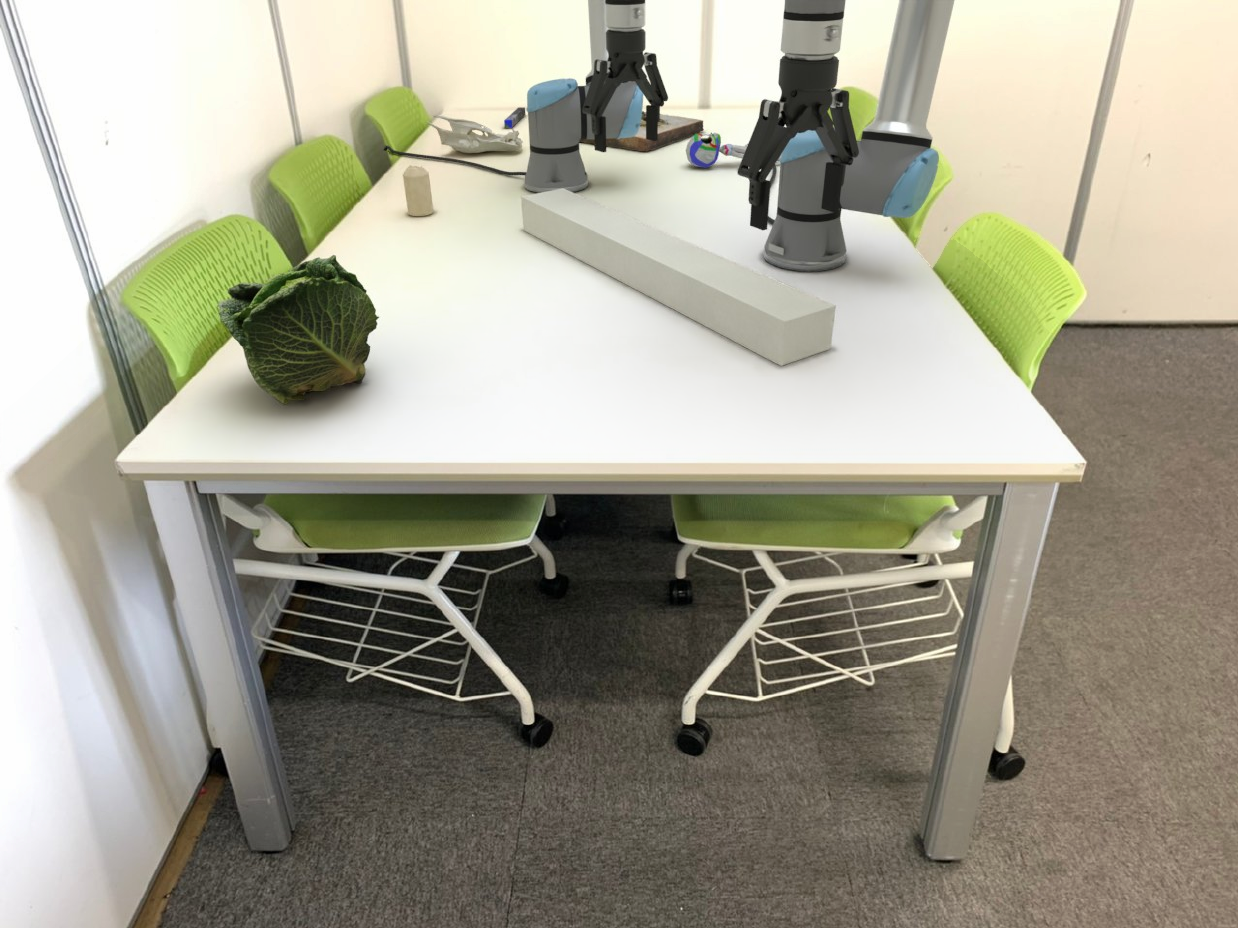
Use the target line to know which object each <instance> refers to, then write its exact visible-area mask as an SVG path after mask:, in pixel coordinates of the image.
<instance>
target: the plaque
mask: <svg viewBox="0 0 1238 928" xmlns="http://www.w3.org/2000/svg"><path fill="white" fill-rule="evenodd" d="M704 130H705V129H704V120H702V119H698V118H693V117H685V116H679V115H669V114H663V113H660V120H659V122H658V141H652V140H648V139H646V111H644V110H642V117H641V123H640V128H639V131H638V133H637V134H636V135H635V136H634V137H628V138H620V139H617V138H611V139H606V147H612V148H620V149H625V150H632V151H640V152H648V151H654V150H656V149H659V148H662V147H663V146H664V147H665V146H667V145H670V144H672V143H676V142H680V141H682V140H684V139H687V138H692V137H693V136H694V135H695V134H699V133H700V132H704ZM580 142H581V143H586V144H593V145H595V141H594V139H588V140H579V143H580Z"/></svg>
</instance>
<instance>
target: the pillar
mask: <svg viewBox="0 0 1238 928" xmlns="http://www.w3.org/2000/svg"><path fill="white" fill-rule="evenodd" d="M525 116H526V107H517V108H516V109H514V111H513V112H511V113H510V114H509V115H508V116H507V117H506V118H505V119H504V120H503V123H504V125H503V126H504V129H512V128H513V127H514V126H516V125H517V124H518V123H519V122H520V121H521V120H522V119H523V118H524V117H525Z"/></svg>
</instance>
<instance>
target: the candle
mask: <svg viewBox="0 0 1238 928" xmlns="http://www.w3.org/2000/svg"><path fill="white" fill-rule="evenodd" d="M402 179H403V186H404V194H405V200H406V207H407V213H408V215H410V216H413V217H425V216H430V215H432V214H433V213H434V205H433V203H434V202H433V197H432V188H431V179H430V173H429V171H428V170H427V169H425V167H423V166H417V165H409V166H407V167H406V169H405V170H404V171H403V173H402Z"/></svg>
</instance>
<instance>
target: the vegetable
mask: <svg viewBox="0 0 1238 928" xmlns="http://www.w3.org/2000/svg"><path fill="white" fill-rule="evenodd" d="M227 294H228V295H230V296H231V298H228V299H223V300H220V301H219V302H218V303H217V306H216V307H217V308H219V311H218V312H217V314H218V316H219V318H220V321H221V323H223V324H224V326H225V328H226V329H227V330H228V332H229V334H230V335H231V336H232V338H233V339H234V340H235V341H237V343H238V344H239V346H240V347H242V349H243V354H244V358H245V360H246V365H247V368H248V371H249V372H250V374H251V376H252V378H253V380H254V382H255V383H256V384H257V385H258V386H259V387H260V388H261V389H262V390H264V391H265V392H267V394H270V395H271V396H272V397H274V398H275V399H276V400H277V401H279V402H280V403H282V404H283V405H288V404H290V402H291V401H296V400H298V401H299V400H303V401H304V400H306V397H305V396H304V395H305V394H306V393H309V392H313V391H314V392H315V391H316V392H325V391H326V390H327V389H328V390H329V389H330V388H331V387H337V386H338V387H339V386H342V385H346V384H349V383H350V385H353V384H362V383H363V380H364V378H365V376H366V366H365V363H366V362H367V361H368V358H369V355H370V353H371V345H370V344H368V340H369V336H370V334H371V333H372V332H373V331H375V330H376V329H377V326H378V321H377V320H378V319H380V316H378V315H377V314H376V312H377V309H376V308H375V305H374V303H373V300H372V299H371V298H370V295H369V294H367V290H366V289H365V287H364V285H363V284H362V283H361V282H360V281H359V280H358V277H357V275H356V274H355V273H352V272H349V271H347V270H346V269H345V268H344V267H343V266H342V265H341V264H340V263H339V262H338V260H337V254H336V255H335V254H332V255H331V256H329V257H327V258H320V256H318V257H315V258H313V259H311V260H306V261H304V262H302V263H299V264H297V265H296V266H293V267H292V268H290V269H289V270H288V271H287V272H283V273H282V272H281V273H277V274H274V275H272V276H270V277H269V278H268V279H267V280H266V281H265V283H257V282H251V283H249V282H240V283H237V284H236V285H234V286H232V287H229V288H228V290H227Z"/></svg>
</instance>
